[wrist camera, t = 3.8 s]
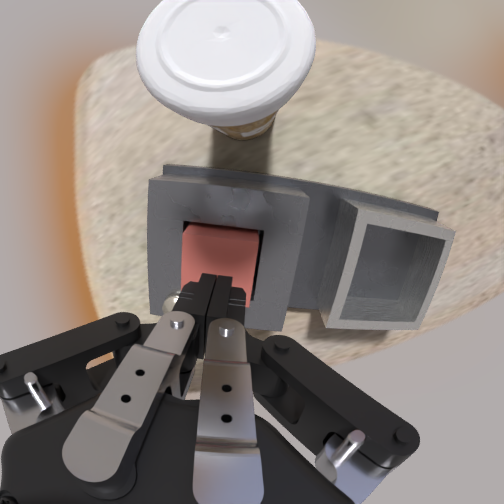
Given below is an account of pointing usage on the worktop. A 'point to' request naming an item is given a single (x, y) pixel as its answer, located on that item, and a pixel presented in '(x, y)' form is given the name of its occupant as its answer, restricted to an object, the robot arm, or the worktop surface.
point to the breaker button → (220, 254)
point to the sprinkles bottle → (226, 60)
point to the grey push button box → (303, 246)
